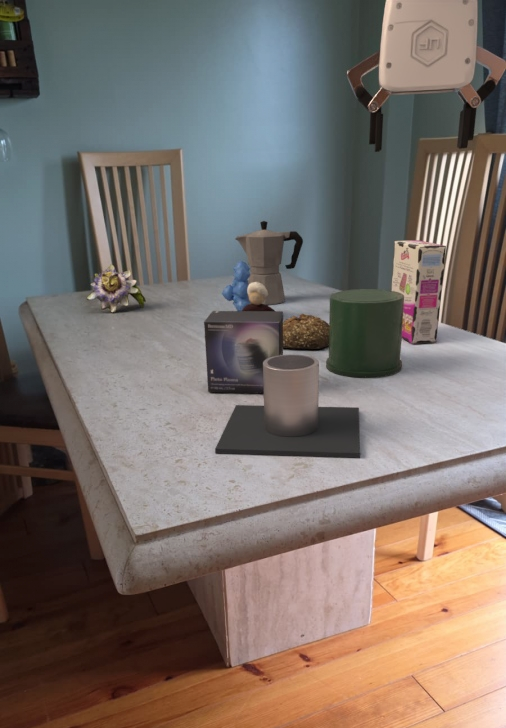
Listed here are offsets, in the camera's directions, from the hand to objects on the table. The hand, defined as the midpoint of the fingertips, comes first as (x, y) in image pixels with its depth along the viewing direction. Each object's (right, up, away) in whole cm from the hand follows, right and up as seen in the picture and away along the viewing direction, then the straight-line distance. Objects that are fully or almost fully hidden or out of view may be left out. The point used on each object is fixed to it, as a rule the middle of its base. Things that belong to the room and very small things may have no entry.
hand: (419, 149), depth 73 cm
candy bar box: (+10, -15, +41) cm, 44 cm away
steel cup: (-15, -32, +2) cm, 36 cm away
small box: (-20, -26, +18) cm, 38 cm away
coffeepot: (-15, 0, +75) cm, 76 cm away
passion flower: (-51, -2, +73) cm, 89 cm away
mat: (-15, -33, +2) cm, 36 cm away
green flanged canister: (-2, -22, +25) cm, 33 cm away
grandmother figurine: (-18, -20, +30) cm, 41 cm away
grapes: (-22, -9, +56) cm, 61 cm away
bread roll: (-11, -16, +40) cm, 44 cm away
